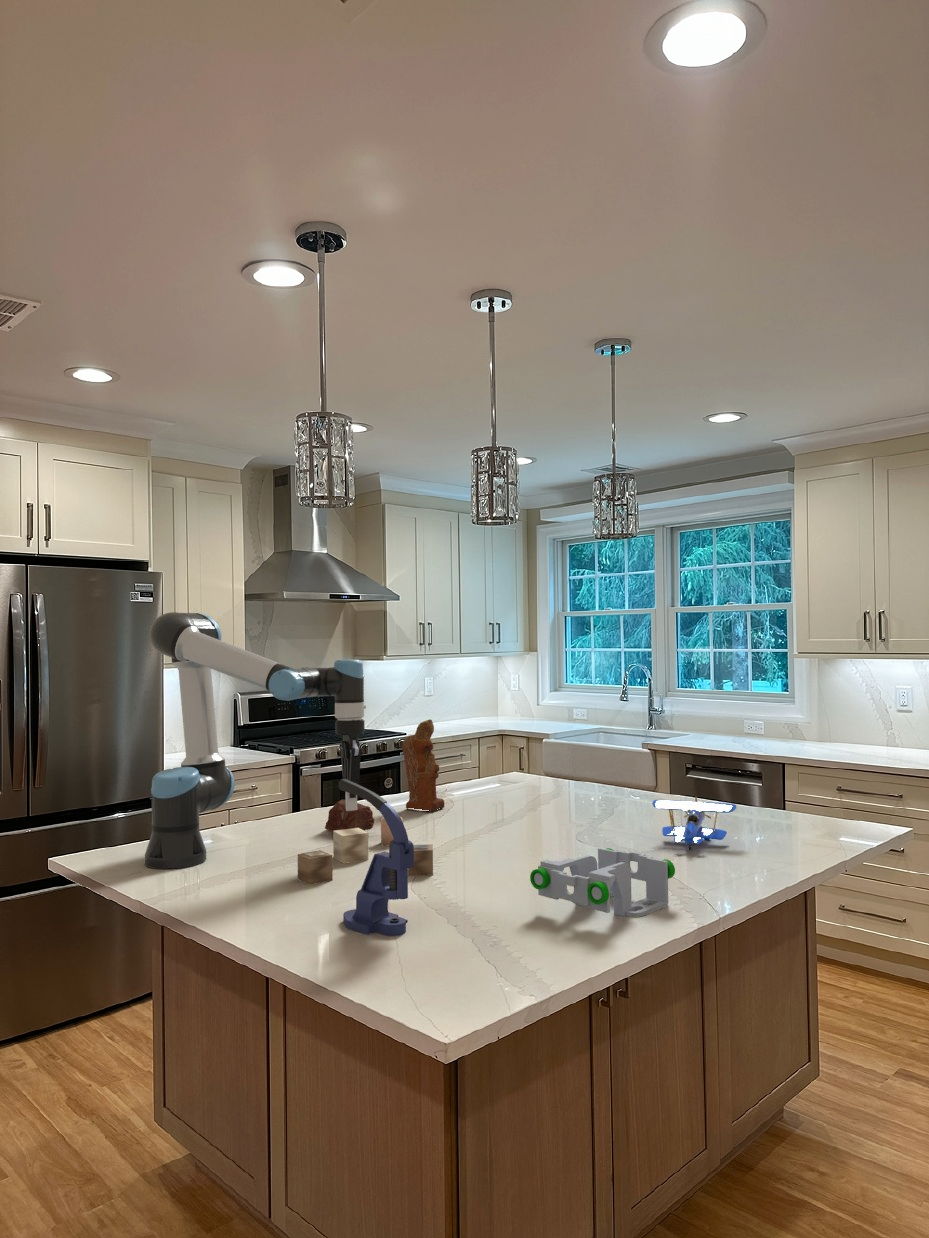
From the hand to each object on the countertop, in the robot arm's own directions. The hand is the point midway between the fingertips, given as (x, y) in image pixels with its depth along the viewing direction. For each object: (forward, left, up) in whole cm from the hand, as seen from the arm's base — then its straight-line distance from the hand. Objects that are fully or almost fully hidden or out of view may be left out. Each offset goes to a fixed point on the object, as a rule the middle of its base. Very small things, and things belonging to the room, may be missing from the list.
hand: (351, 809), depth 224 cm
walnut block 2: (+12, -20, -13) cm, 26 cm away
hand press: (-10, -54, -13) cm, 56 cm away
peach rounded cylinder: (+15, +12, -13) cm, 23 cm away
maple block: (0, 0, -13) cm, 13 cm away
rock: (+7, +30, -13) cm, 34 cm away
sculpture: (+40, +54, -13) cm, 68 cm away
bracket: (+37, -63, -13) cm, 74 cm away
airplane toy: (+89, -25, -13) cm, 93 cm away
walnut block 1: (-13, -16, -13) cm, 24 cm away
